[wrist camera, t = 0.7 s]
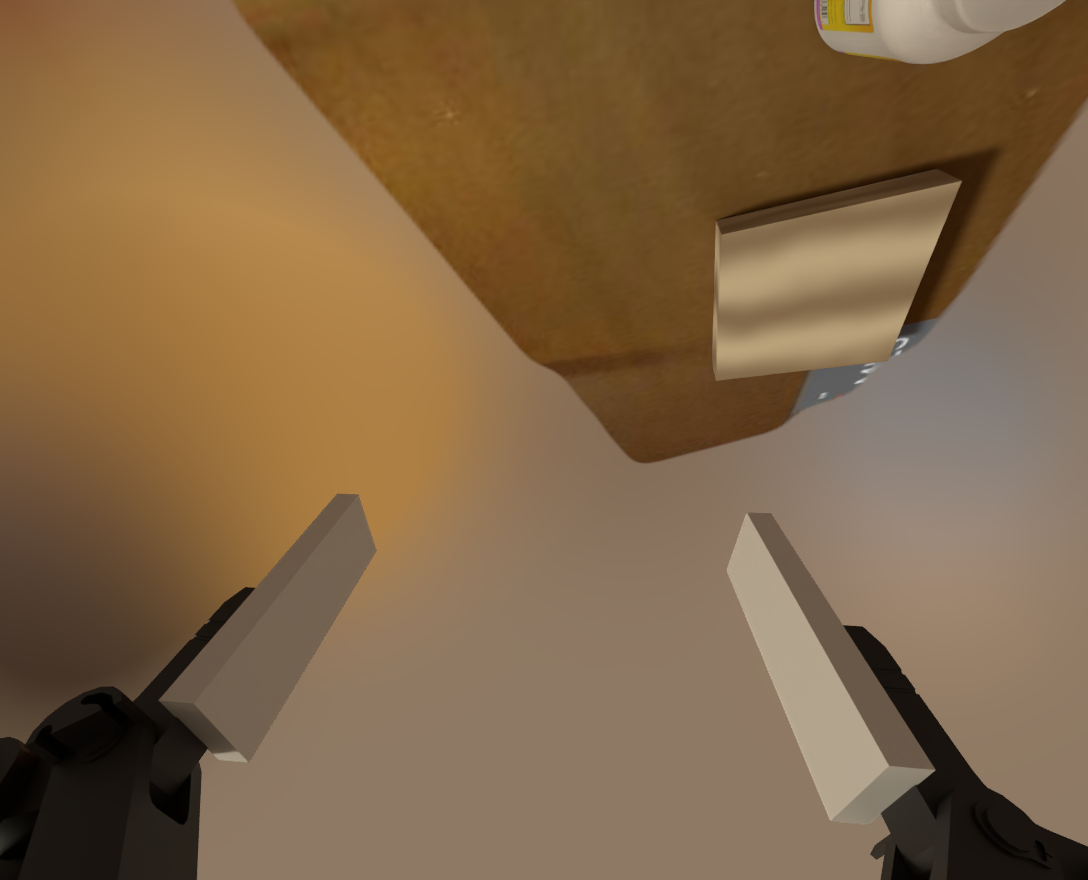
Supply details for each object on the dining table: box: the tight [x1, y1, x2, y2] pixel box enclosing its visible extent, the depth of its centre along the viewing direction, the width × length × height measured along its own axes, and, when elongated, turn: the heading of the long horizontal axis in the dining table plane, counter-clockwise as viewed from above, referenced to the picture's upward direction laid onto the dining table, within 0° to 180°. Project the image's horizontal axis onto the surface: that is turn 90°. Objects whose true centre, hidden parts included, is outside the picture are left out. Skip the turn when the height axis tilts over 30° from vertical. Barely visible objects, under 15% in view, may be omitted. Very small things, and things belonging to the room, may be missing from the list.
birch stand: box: [712, 169, 962, 381], centre depth 32 cm, size 14×14×3 cm
